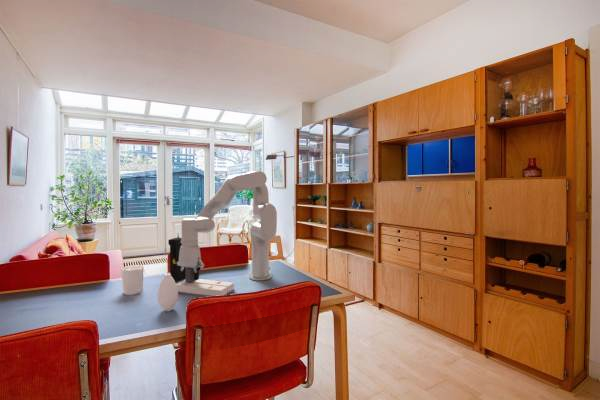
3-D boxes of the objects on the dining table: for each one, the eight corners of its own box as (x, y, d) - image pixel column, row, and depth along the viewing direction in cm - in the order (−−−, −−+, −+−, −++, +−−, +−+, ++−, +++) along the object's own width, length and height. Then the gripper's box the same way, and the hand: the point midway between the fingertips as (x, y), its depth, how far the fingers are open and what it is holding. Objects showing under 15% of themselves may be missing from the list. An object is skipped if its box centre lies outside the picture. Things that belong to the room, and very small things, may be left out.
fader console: (189, 285, 164) (189, 277, 164) (234, 290, 156) (234, 282, 156) (174, 292, 152) (173, 284, 152) (221, 299, 144) (220, 289, 144)
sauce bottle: (157, 315, 126) (156, 271, 125) (158, 308, 134) (157, 266, 133) (178, 312, 130) (177, 269, 129) (177, 305, 137) (177, 264, 136)
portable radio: (177, 282, 169) (177, 235, 168) (167, 281, 170) (166, 235, 169) (185, 277, 177) (185, 233, 175) (176, 277, 178) (175, 233, 177)
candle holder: (148, 290, 156) (148, 266, 155) (130, 296, 147) (130, 271, 147) (135, 287, 160) (134, 264, 160) (117, 293, 151) (116, 268, 151)
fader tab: (190, 285, 159) (190, 266, 158) (195, 286, 158) (195, 267, 157) (185, 288, 155) (185, 269, 154) (190, 289, 154) (190, 269, 154)
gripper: (170, 243, 154) (170, 279, 155) (200, 245, 149) (200, 283, 150) (180, 241, 161) (181, 275, 162) (209, 243, 156) (209, 278, 157)
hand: (190, 278), depth 156 cm, fingers open, 6 cm apart
